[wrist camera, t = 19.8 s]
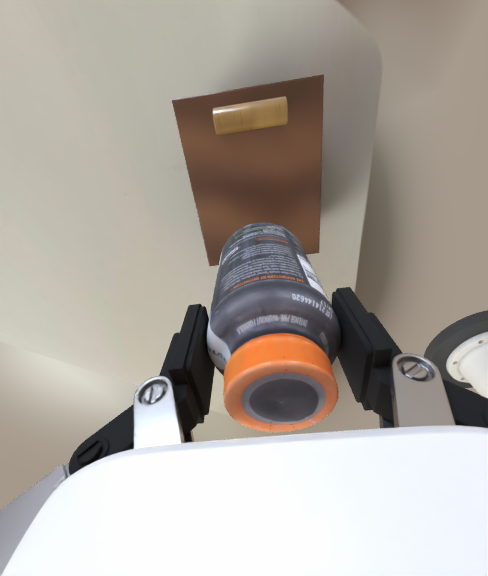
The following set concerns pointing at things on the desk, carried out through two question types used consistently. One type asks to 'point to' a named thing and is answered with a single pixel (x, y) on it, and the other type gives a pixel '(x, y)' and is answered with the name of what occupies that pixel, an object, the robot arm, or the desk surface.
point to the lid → (255, 159)
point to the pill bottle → (272, 332)
